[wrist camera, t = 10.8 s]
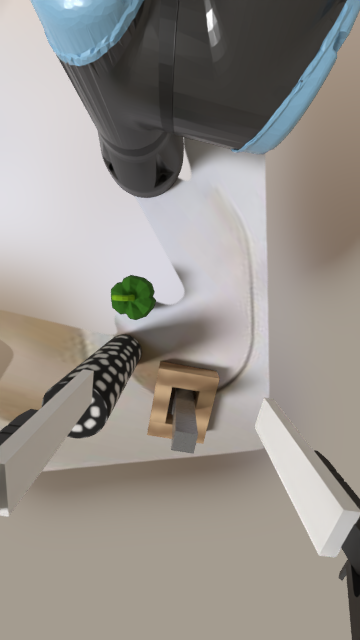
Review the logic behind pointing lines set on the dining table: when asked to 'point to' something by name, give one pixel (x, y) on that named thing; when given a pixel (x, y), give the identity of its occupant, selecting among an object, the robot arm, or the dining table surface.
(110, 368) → the white-spotted black cylinder
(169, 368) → the wooden rectangular frame
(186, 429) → the bracket
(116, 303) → the bell pepper
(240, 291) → the dining table surface
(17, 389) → the dining table surface
